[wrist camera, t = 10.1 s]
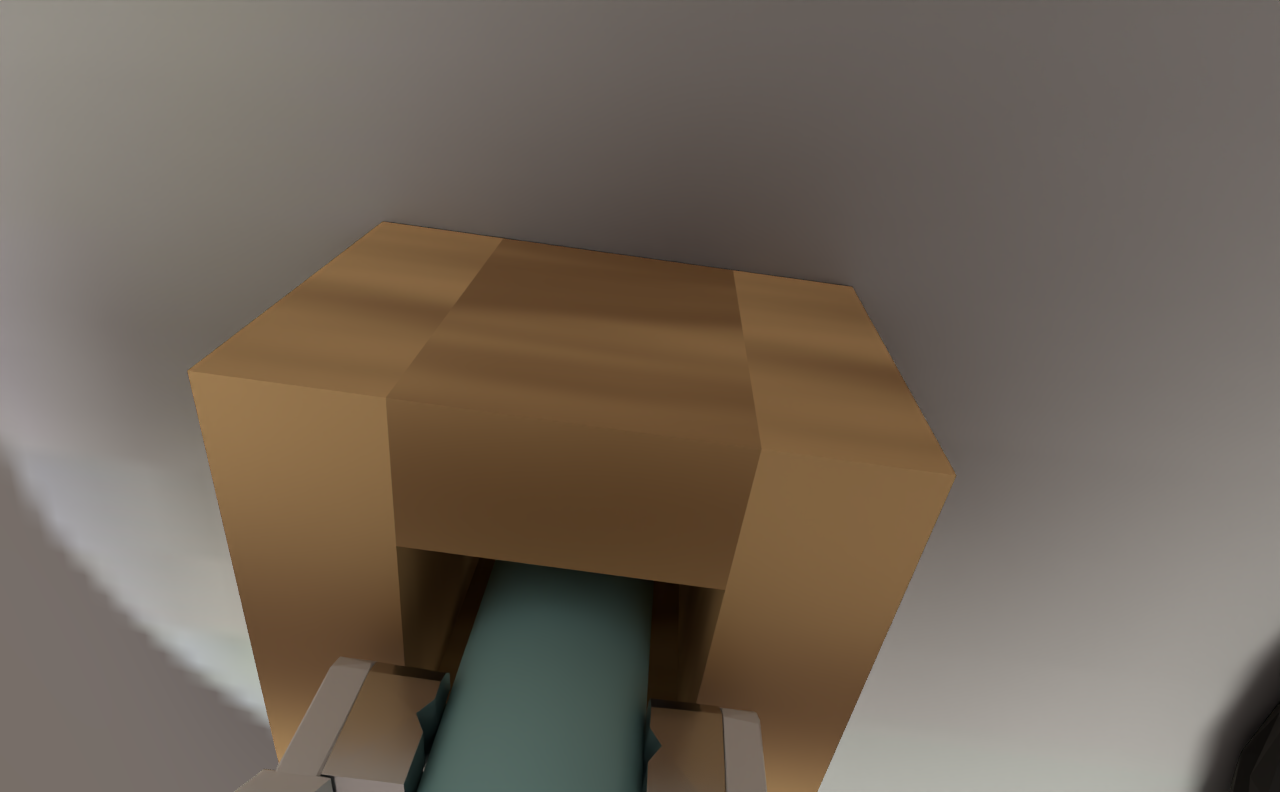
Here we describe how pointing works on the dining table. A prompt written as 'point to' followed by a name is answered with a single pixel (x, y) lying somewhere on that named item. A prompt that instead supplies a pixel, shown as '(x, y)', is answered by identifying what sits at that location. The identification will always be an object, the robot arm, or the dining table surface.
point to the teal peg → (548, 686)
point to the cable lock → (1260, 759)
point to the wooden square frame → (572, 469)
